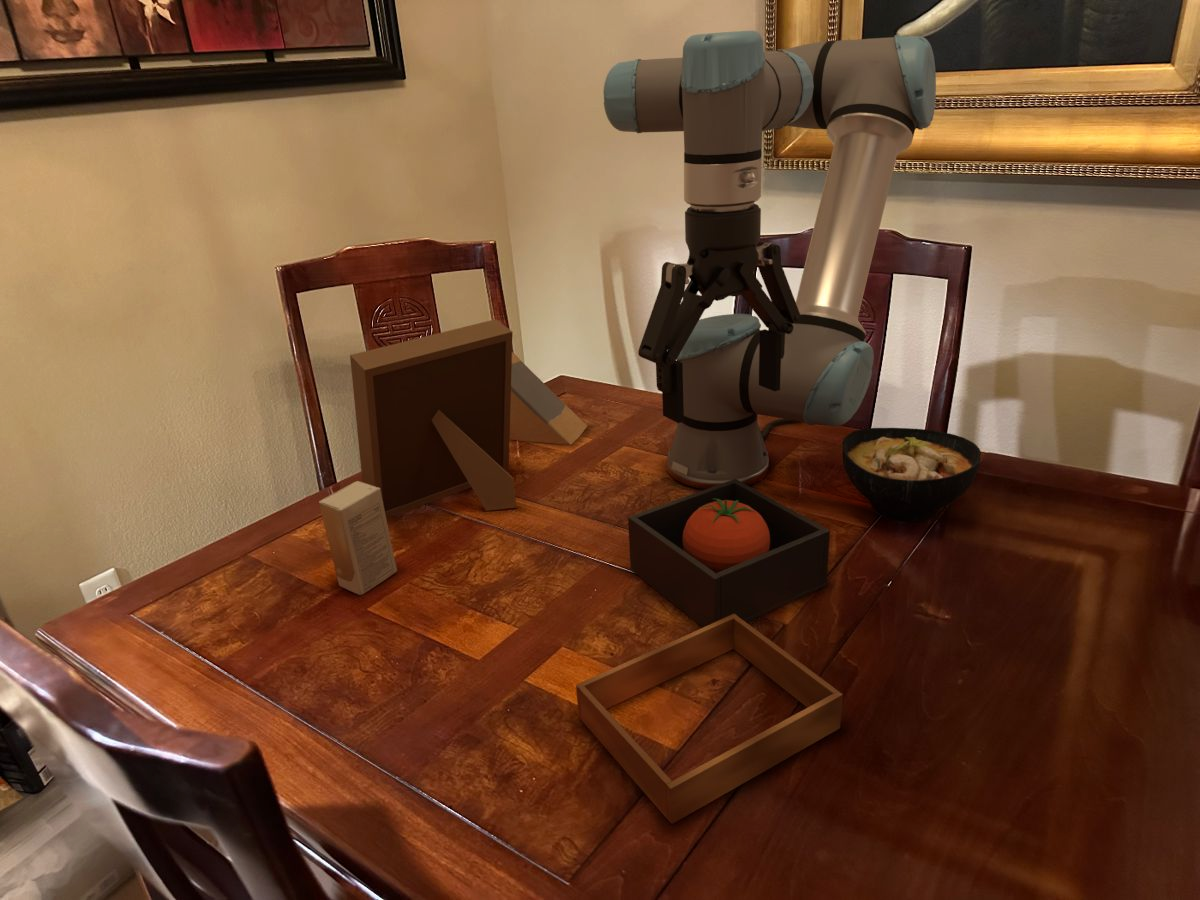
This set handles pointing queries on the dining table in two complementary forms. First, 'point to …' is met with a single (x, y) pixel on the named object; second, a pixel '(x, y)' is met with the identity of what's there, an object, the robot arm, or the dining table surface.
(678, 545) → the black square bin
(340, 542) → the cosmetic box
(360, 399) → the photo frame
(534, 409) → the sandwich container
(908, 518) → the bowl
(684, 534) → the tomato
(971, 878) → the dining table surface
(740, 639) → the box
